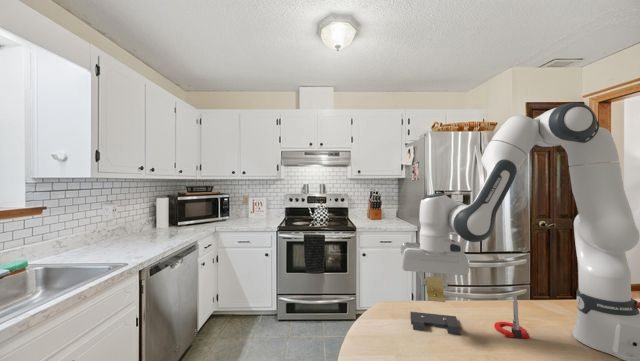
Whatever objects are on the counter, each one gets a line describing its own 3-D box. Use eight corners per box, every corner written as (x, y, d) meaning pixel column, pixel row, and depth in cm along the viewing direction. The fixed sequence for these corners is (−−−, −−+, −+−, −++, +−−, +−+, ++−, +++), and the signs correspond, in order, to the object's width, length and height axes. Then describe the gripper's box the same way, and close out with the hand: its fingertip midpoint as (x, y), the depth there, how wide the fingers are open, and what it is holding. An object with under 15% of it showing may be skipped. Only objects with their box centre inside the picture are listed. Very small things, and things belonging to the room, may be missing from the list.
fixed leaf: (455, 319, 100) (455, 312, 100) (461, 335, 90) (461, 327, 90) (410, 314, 104) (410, 307, 104) (411, 329, 94) (411, 321, 94)
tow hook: (490, 324, 98) (503, 337, 88) (488, 285, 98) (501, 295, 89) (517, 326, 96) (533, 339, 87) (515, 286, 97) (531, 296, 88)
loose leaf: (441, 292, 94) (441, 277, 94) (445, 302, 87) (445, 285, 87) (425, 291, 96) (425, 276, 96) (427, 300, 89) (427, 284, 88)
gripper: (400, 243, 94) (401, 286, 94) (470, 247, 88) (470, 292, 88) (400, 239, 100) (401, 279, 100) (465, 243, 94) (465, 285, 94)
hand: (434, 285), depth 94 cm, fingers closed on loose leaf, 5 cm apart
